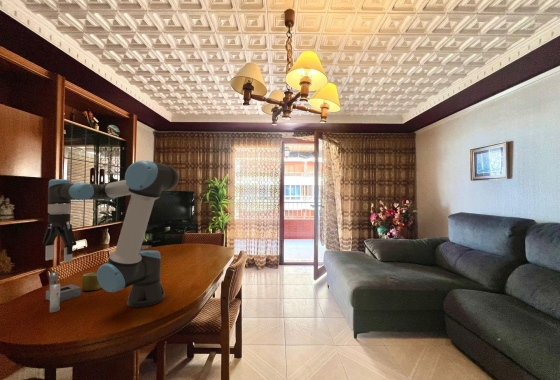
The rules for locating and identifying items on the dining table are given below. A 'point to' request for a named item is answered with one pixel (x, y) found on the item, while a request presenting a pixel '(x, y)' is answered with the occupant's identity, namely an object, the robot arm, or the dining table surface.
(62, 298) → the grey l-shaped block
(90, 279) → the mug
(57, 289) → the pin
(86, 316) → the dining table surface
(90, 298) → the dining table surface
